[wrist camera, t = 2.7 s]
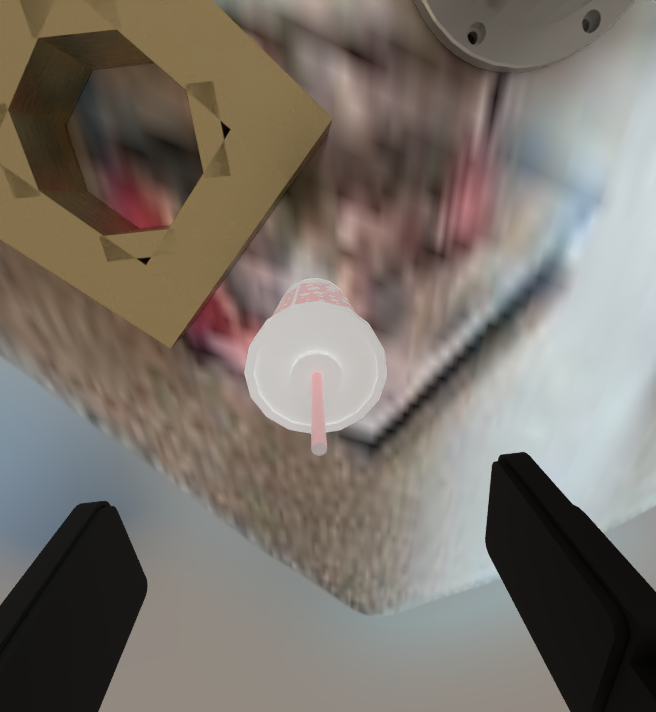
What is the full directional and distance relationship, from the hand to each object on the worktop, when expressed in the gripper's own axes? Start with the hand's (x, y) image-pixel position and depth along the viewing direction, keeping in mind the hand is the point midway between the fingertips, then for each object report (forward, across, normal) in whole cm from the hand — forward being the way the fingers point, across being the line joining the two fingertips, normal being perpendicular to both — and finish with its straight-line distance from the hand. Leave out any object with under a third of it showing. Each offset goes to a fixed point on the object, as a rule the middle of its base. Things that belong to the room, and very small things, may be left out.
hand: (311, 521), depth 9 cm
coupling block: (+16, +8, -11) cm, 21 cm away
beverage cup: (+16, 0, -1) cm, 16 cm away
